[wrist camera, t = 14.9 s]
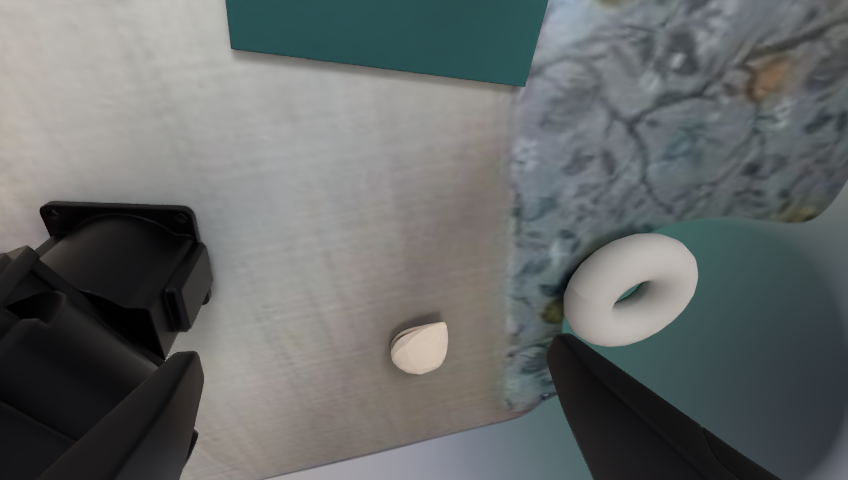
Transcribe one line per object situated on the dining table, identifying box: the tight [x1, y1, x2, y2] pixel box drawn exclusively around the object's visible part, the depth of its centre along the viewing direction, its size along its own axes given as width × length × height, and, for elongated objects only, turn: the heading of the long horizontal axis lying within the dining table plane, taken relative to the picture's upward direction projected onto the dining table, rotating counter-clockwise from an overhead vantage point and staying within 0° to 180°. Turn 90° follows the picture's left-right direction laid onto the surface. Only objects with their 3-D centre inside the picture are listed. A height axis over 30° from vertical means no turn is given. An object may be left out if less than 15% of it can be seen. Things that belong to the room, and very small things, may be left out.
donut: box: [564, 233, 698, 347], centre depth 28 cm, size 10×4×10 cm
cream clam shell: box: [390, 322, 448, 375], centre depth 27 cm, size 4×5×2 cm
